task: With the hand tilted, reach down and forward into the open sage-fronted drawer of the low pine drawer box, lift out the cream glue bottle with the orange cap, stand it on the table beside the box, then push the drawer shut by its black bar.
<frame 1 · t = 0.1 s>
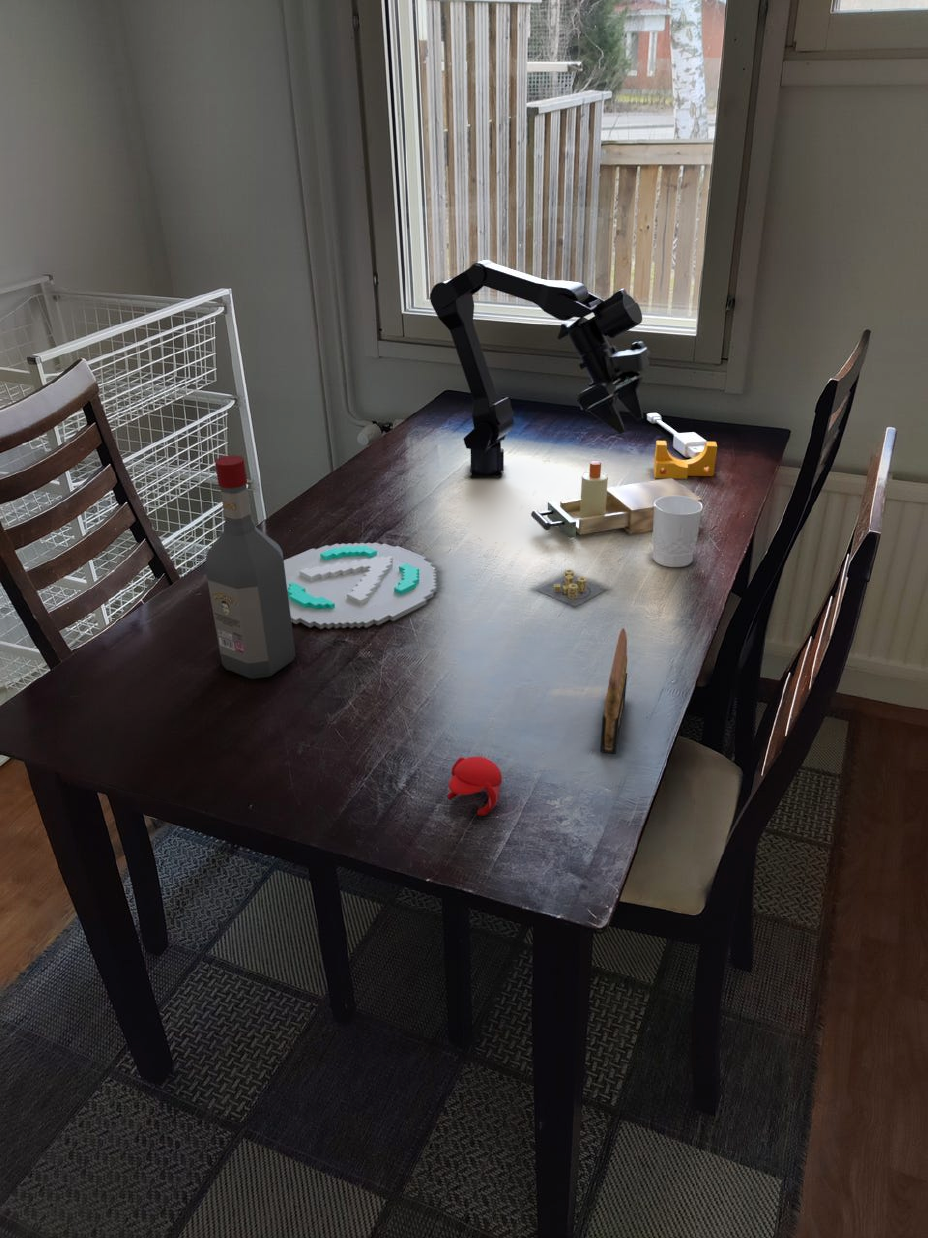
hand: (631, 425, 172), 15 cm above the table, tool tilted 35°, fingers open, 9 cm apart
cap: (473, 805, 104), on the table
white cup: (672, 559, 157), on the table
ammunition clip: (612, 728, 116), on the table
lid: (350, 585, 151), on the table
pipe clamp: (683, 475, 190), on the table
charging cable: (675, 441, 209), on the table
cabinet: (650, 516, 172), on the table
glue bottle: (592, 517, 168), point 2 cm above the table, touching drawer
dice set: (571, 590, 148), on the table
drawer: (581, 516, 167), point 2 cm above the table, slide at 10.5 cm, touching glue bottle
liquor: (259, 661, 131), on the table
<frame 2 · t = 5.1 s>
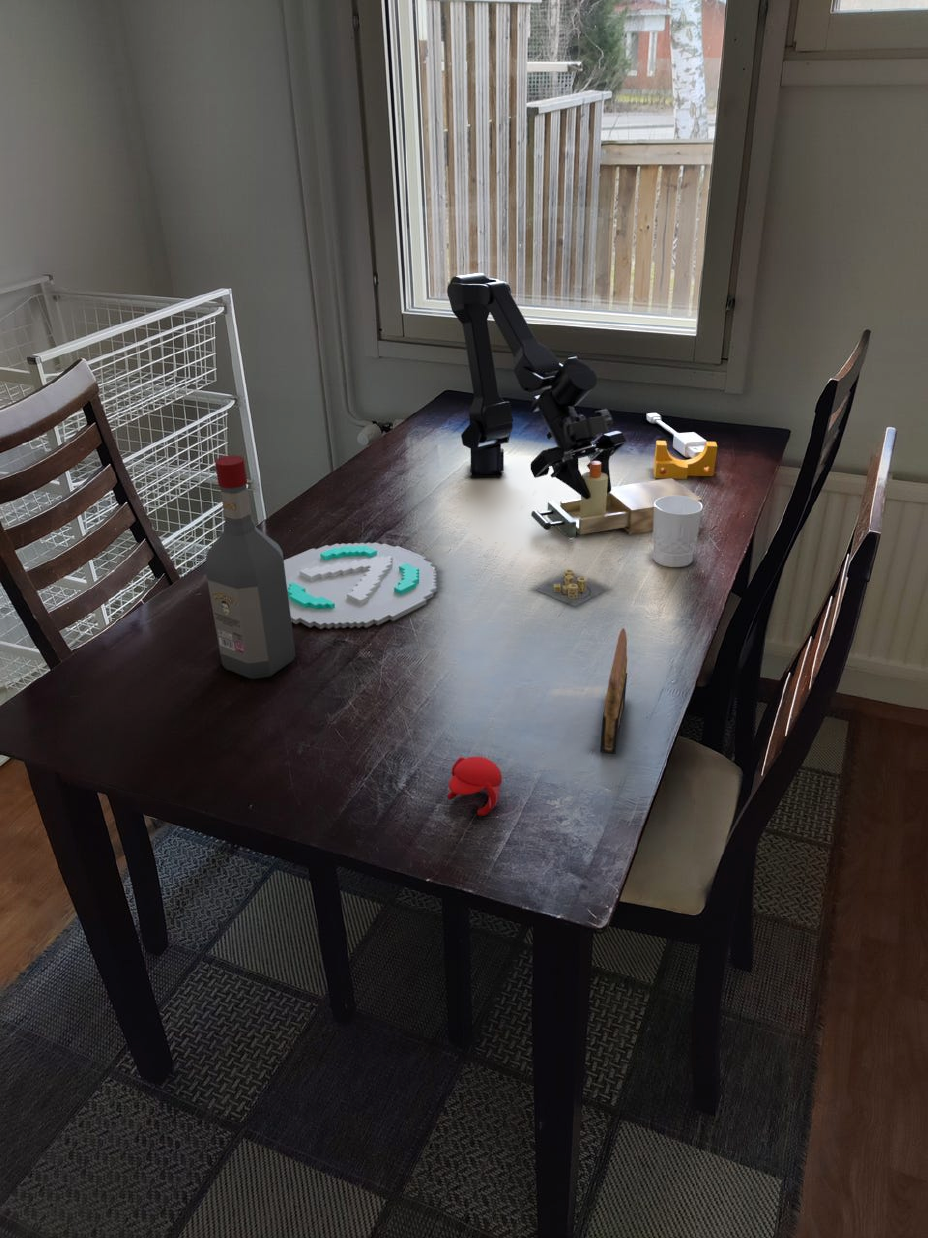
hand: (599, 495, 165), 7 cm above the table, tool tilted 45°, fingers closed on glue bottle, 4 cm apart
glue bottle: (592, 517, 168), point 2 cm above the table, touching drawer, gripper
everything else where it was.
when the fingers open (5 cm above the table, at t = 13.5 s): glue bottle stays where it is, on the table.
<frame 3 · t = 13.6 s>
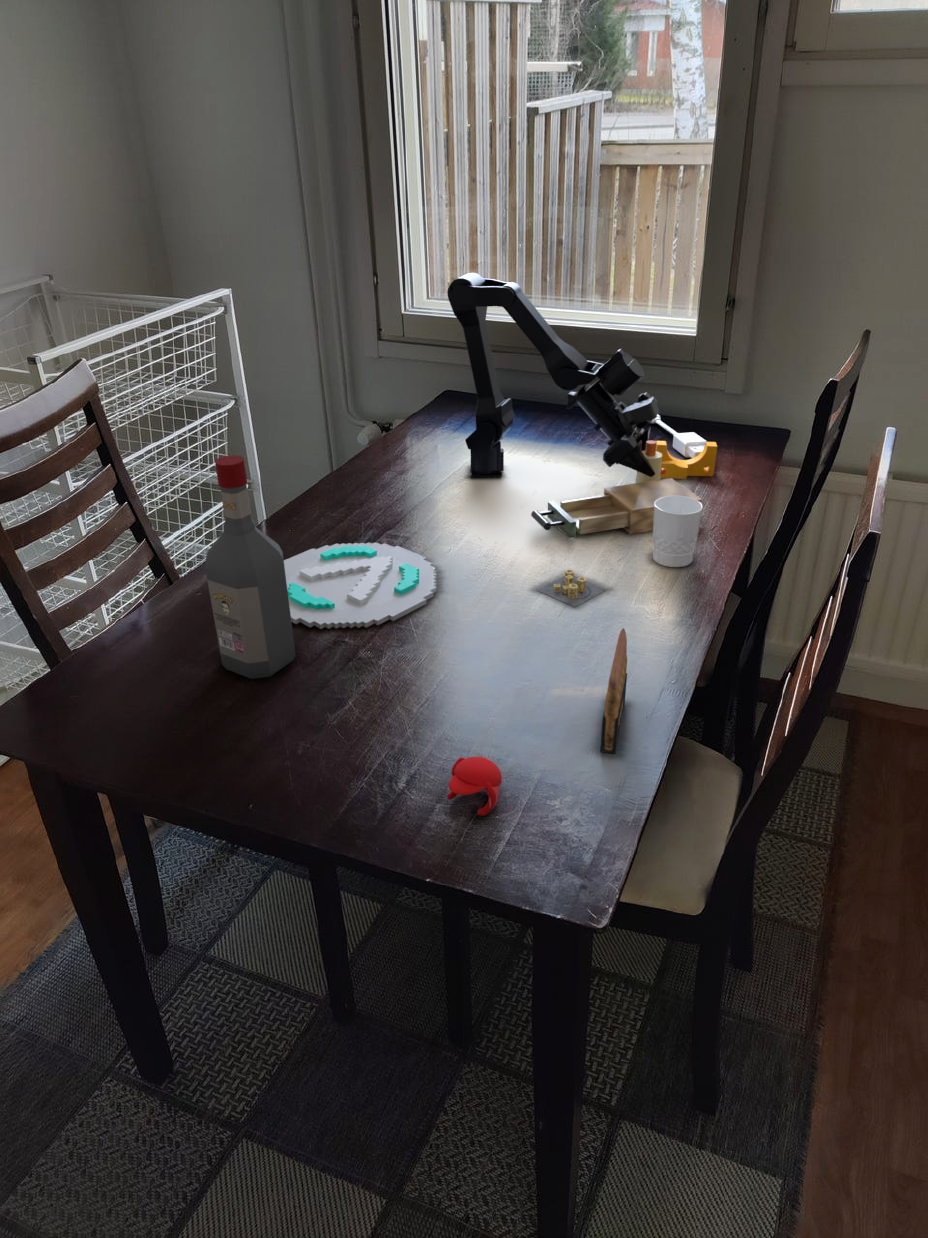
hand: (656, 470, 179), 5 cm above the table, tool tilted 45°, fingers open, 5 cm apart
glue bottle: (646, 492, 182), on the table
drawer: (581, 516, 167), point 2 cm above the table, slide at 10.5 cm
everything else where it was.
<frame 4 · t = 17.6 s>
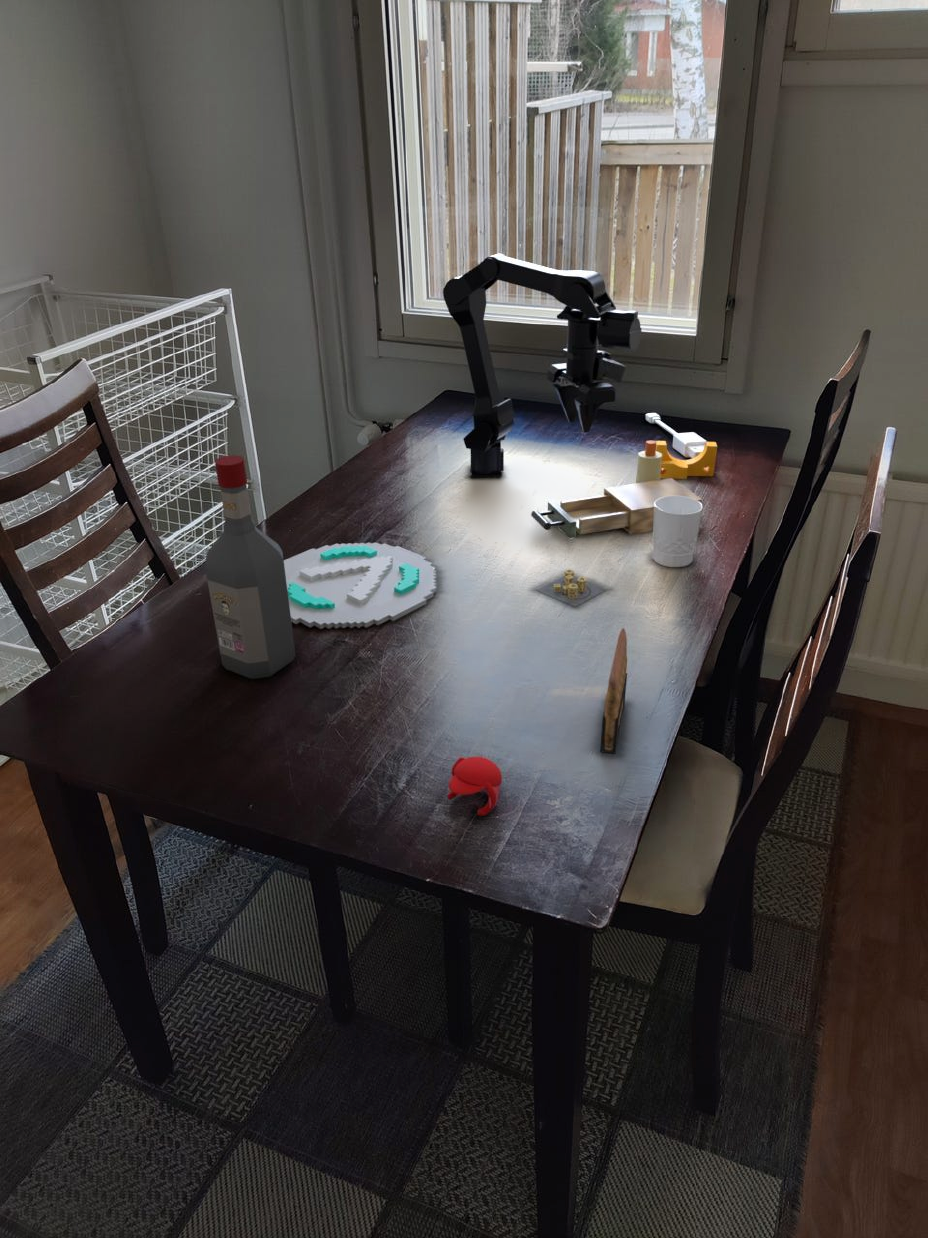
hand: (578, 426, 178), 13 cm above the table, tool pointing down, fingers open, 6 cm apart
nothing on the table moved.
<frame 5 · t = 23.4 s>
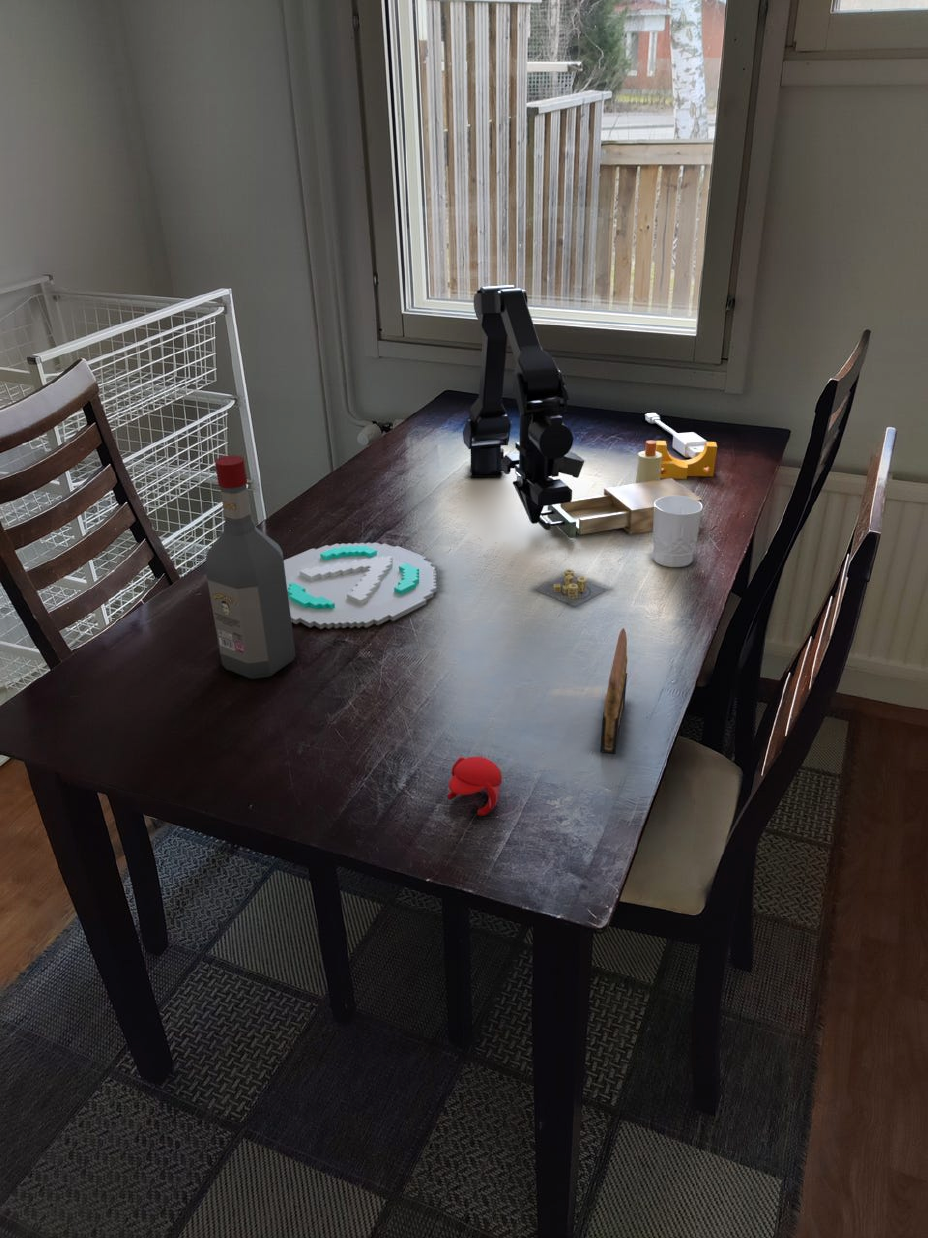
hand: (534, 522, 165), 2 cm above the table, tool pointing down, fingers closed, pressing on drawer
drawer: (581, 516, 167), point 2 cm above the table, slide at 10.5 cm, touching gripper
everything else where it was.
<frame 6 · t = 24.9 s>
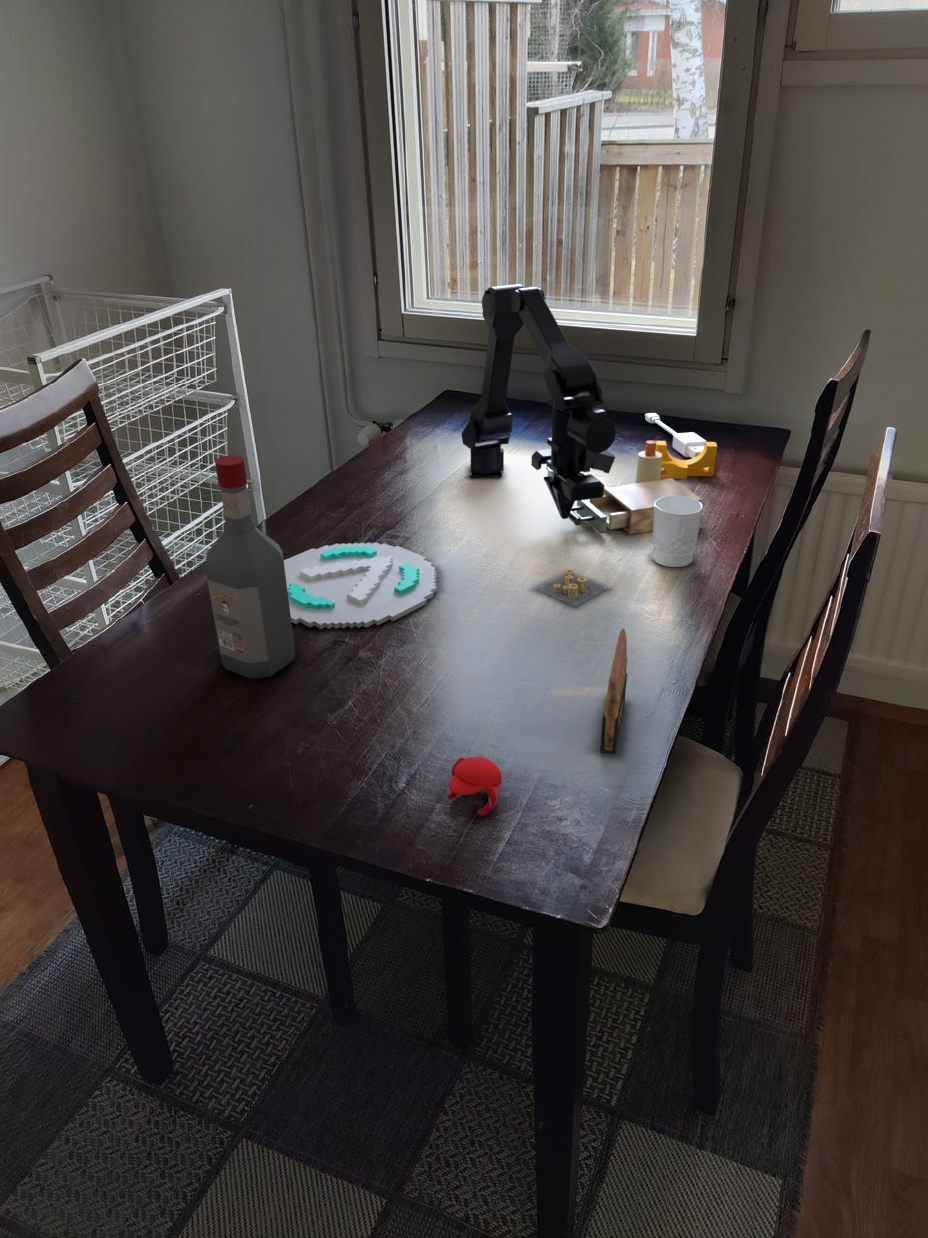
hand: (564, 517, 166), 2 cm above the table, tool pointing down, fingers closed, pressing on drawer
drawer: (611, 511, 169), point 2 cm above the table, slide at 4.5 cm, touching gripper
everything else where it was.
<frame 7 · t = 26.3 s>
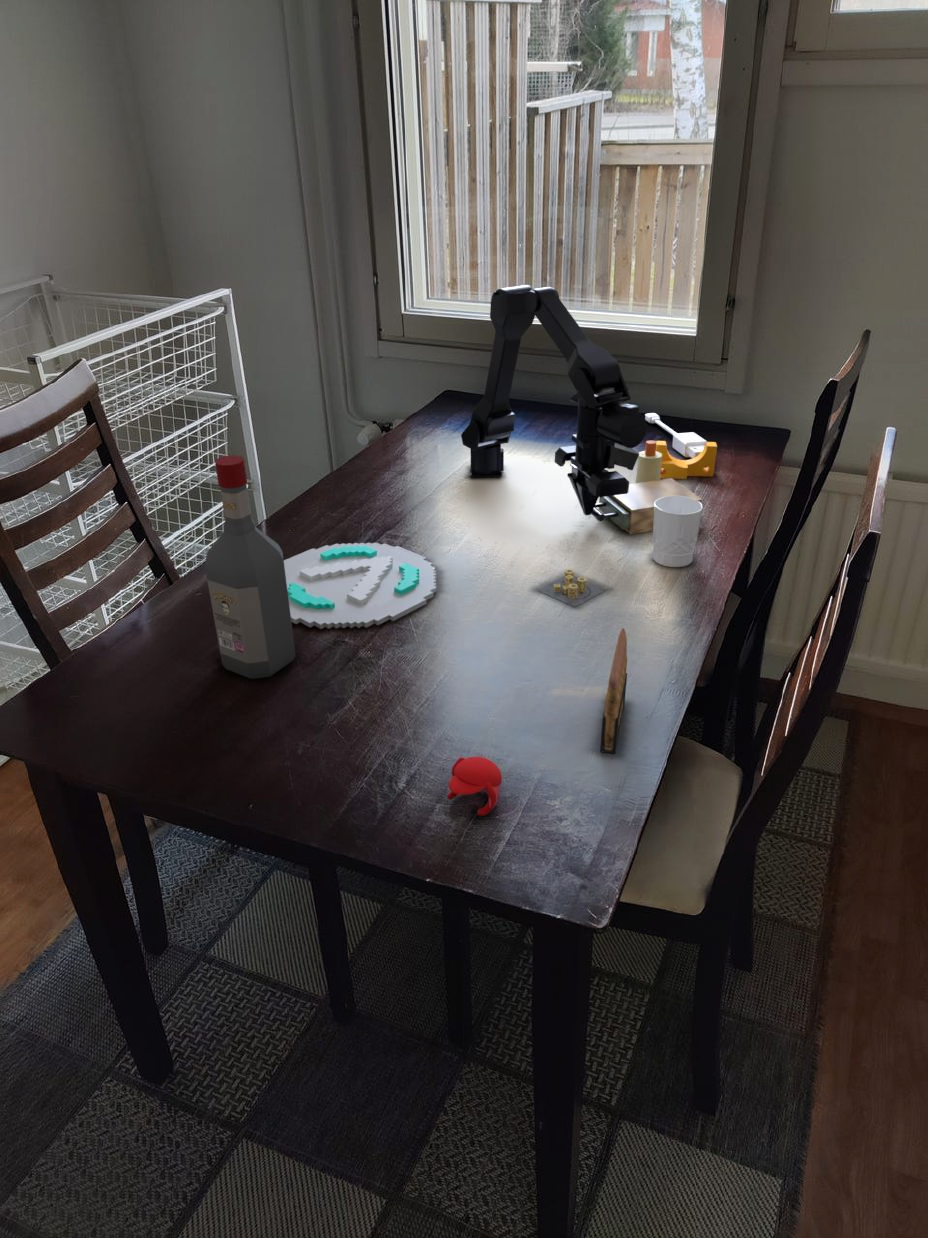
hand: (587, 514, 167), 3 cm above the table, tool pointing down, fingers closed, pressing on drawer
drawer: (633, 507, 170), point 2 cm above the table, slide at 0.0 cm, touching cabinet, gripper
everything else where it was.
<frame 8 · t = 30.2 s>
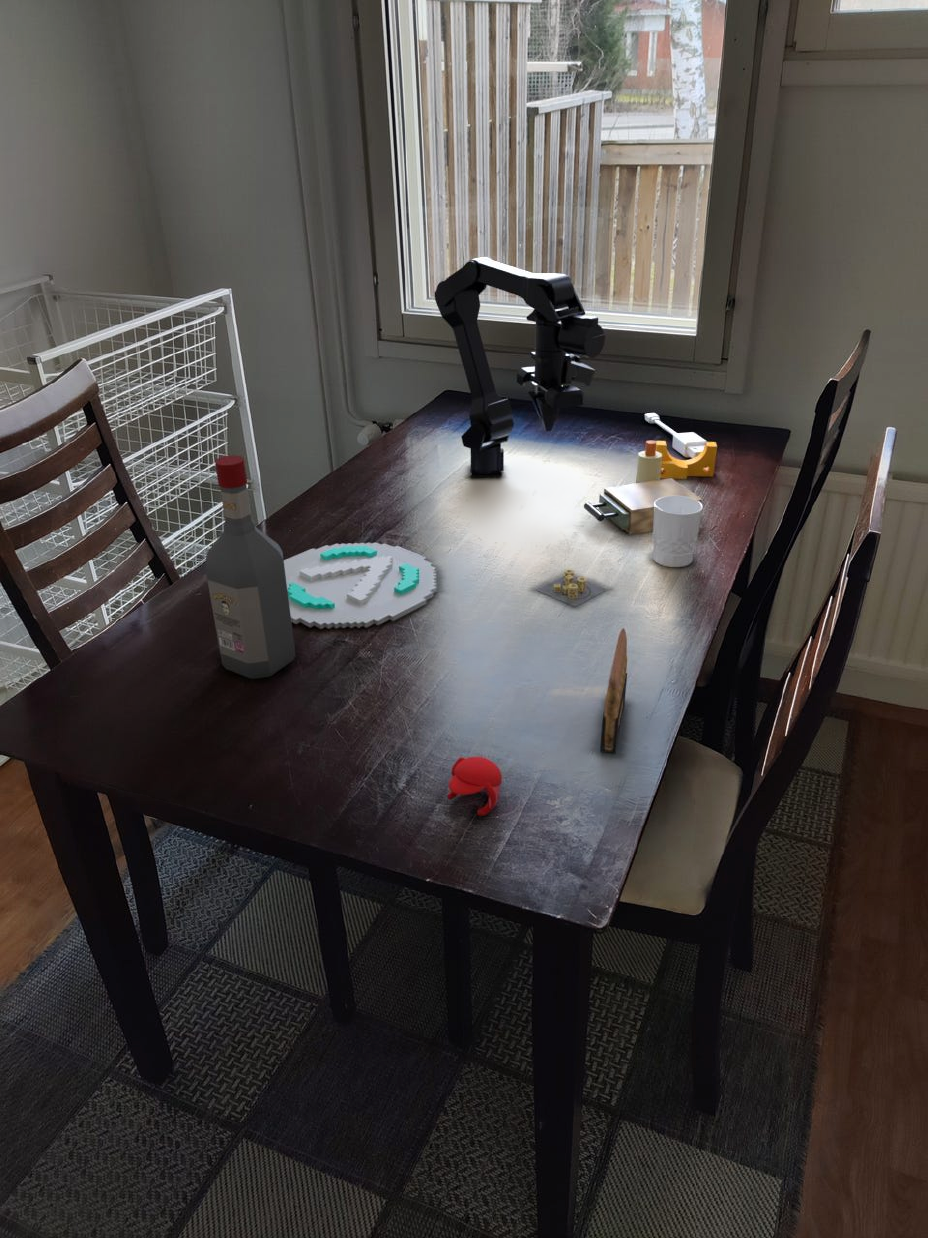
hand: (548, 430, 176), 13 cm above the table, tool pointing down, fingers closed
drawer: (633, 507, 170), point 2 cm above the table, slide at 0.0 cm
everything else where it was.
at the end: glue bottle inside the target area (0.1 cm from its centre), on the table; glue bottle tilted 0°; drawer slide at 0.0 cm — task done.
